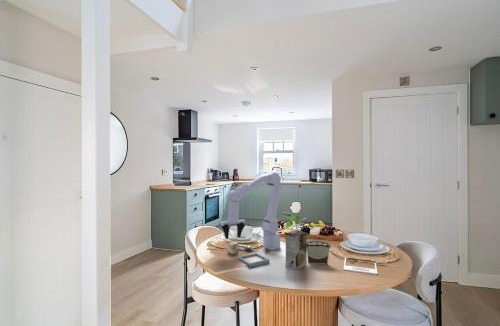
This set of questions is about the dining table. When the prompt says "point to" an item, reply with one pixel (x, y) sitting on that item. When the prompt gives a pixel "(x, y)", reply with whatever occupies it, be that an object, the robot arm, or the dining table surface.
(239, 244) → the crank lever
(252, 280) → the dining table surface
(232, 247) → the block
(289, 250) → the coffee box
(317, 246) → the food container
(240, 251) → the board
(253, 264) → the tray
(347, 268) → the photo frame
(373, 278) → the dining table surface
